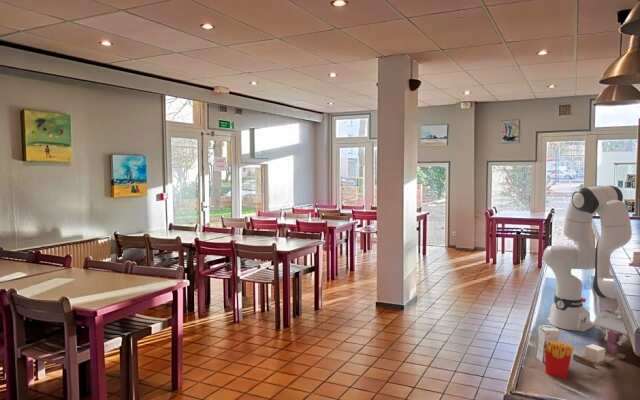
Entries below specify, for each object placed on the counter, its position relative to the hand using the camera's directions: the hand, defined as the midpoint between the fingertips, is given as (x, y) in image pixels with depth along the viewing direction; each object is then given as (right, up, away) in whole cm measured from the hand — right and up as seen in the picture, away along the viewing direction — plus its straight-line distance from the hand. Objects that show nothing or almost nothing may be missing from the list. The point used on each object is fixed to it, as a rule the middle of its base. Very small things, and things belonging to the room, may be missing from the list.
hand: (612, 342), depth 208 cm
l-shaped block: (-7, -6, -4) cm, 10 cm away
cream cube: (-11, -5, -6) cm, 13 cm away
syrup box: (-31, -6, -8) cm, 33 cm away
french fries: (-32, -7, -20) cm, 39 cm away
